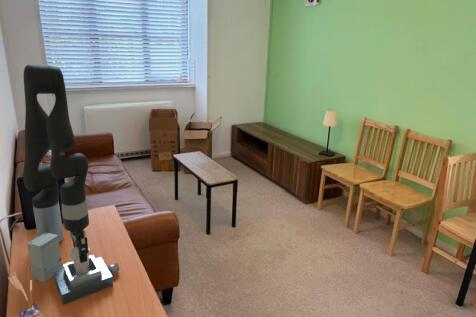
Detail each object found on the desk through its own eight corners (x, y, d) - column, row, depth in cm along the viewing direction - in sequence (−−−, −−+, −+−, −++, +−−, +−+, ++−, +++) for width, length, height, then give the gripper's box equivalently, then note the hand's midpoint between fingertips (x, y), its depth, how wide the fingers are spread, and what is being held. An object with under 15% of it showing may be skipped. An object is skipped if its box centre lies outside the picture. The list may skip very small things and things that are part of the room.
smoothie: (85, 281, 115) (81, 246, 110) (68, 278, 116) (63, 243, 111) (96, 269, 121) (92, 235, 116) (80, 266, 122) (76, 232, 117)
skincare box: (45, 283, 119) (39, 247, 113) (32, 279, 120) (25, 243, 115) (63, 268, 126) (58, 234, 121) (50, 265, 128) (45, 230, 123)
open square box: (55, 281, 119) (52, 265, 117) (112, 262, 131) (111, 246, 129) (63, 304, 110) (60, 287, 107) (124, 281, 122) (123, 265, 119)
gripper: (57, 207, 113) (63, 248, 118) (68, 226, 102) (74, 271, 108) (81, 201, 117) (86, 242, 123) (93, 219, 107) (98, 263, 112)
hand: (80, 255), depth 115 cm, fingers open, 7 cm apart
